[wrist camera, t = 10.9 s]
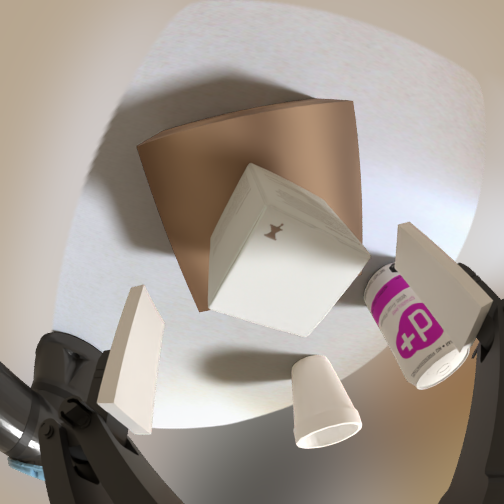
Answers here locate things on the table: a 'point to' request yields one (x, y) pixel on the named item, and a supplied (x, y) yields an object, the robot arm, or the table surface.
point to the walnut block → (235, 162)
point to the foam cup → (321, 404)
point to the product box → (280, 255)
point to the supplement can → (411, 330)
